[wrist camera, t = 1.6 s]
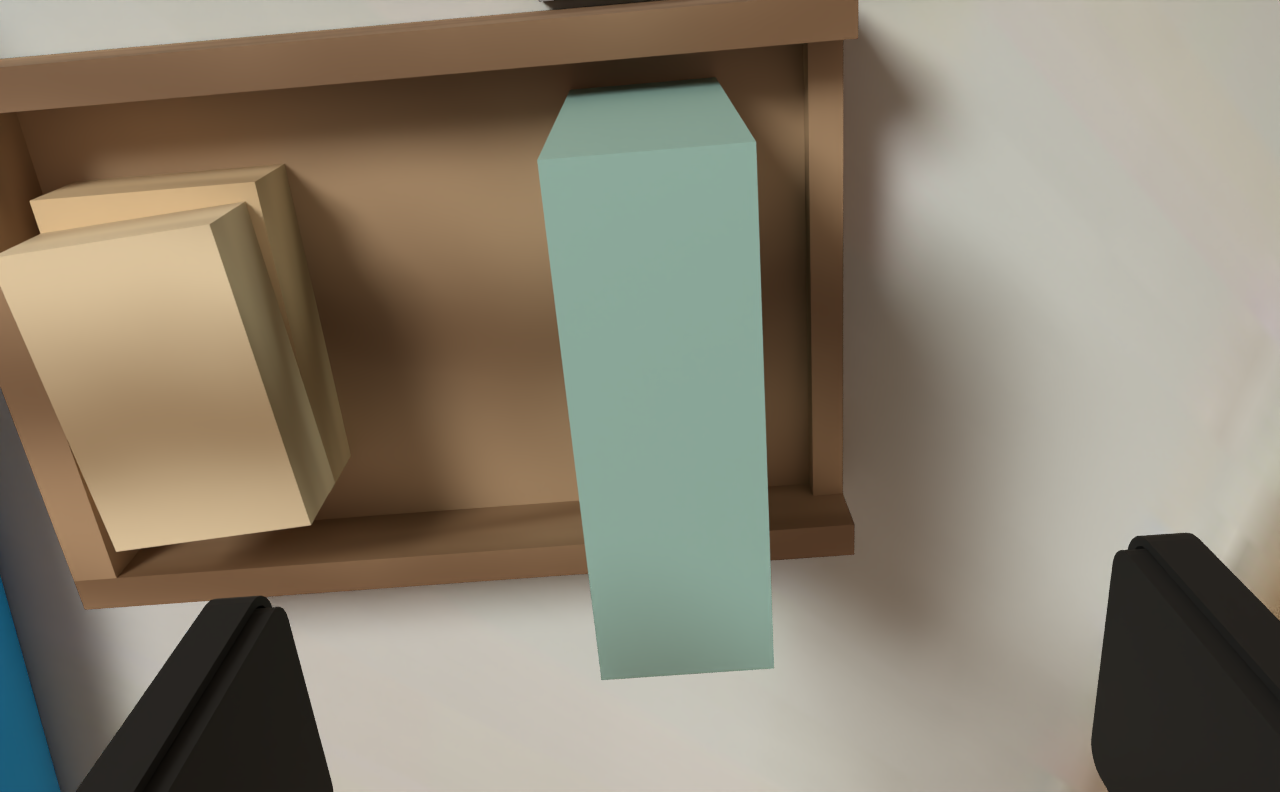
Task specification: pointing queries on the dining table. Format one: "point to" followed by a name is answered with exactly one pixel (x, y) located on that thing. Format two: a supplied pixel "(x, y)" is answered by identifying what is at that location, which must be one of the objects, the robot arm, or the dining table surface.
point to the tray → (442, 271)
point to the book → (20, 719)
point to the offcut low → (276, 240)
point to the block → (664, 371)
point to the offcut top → (171, 375)
